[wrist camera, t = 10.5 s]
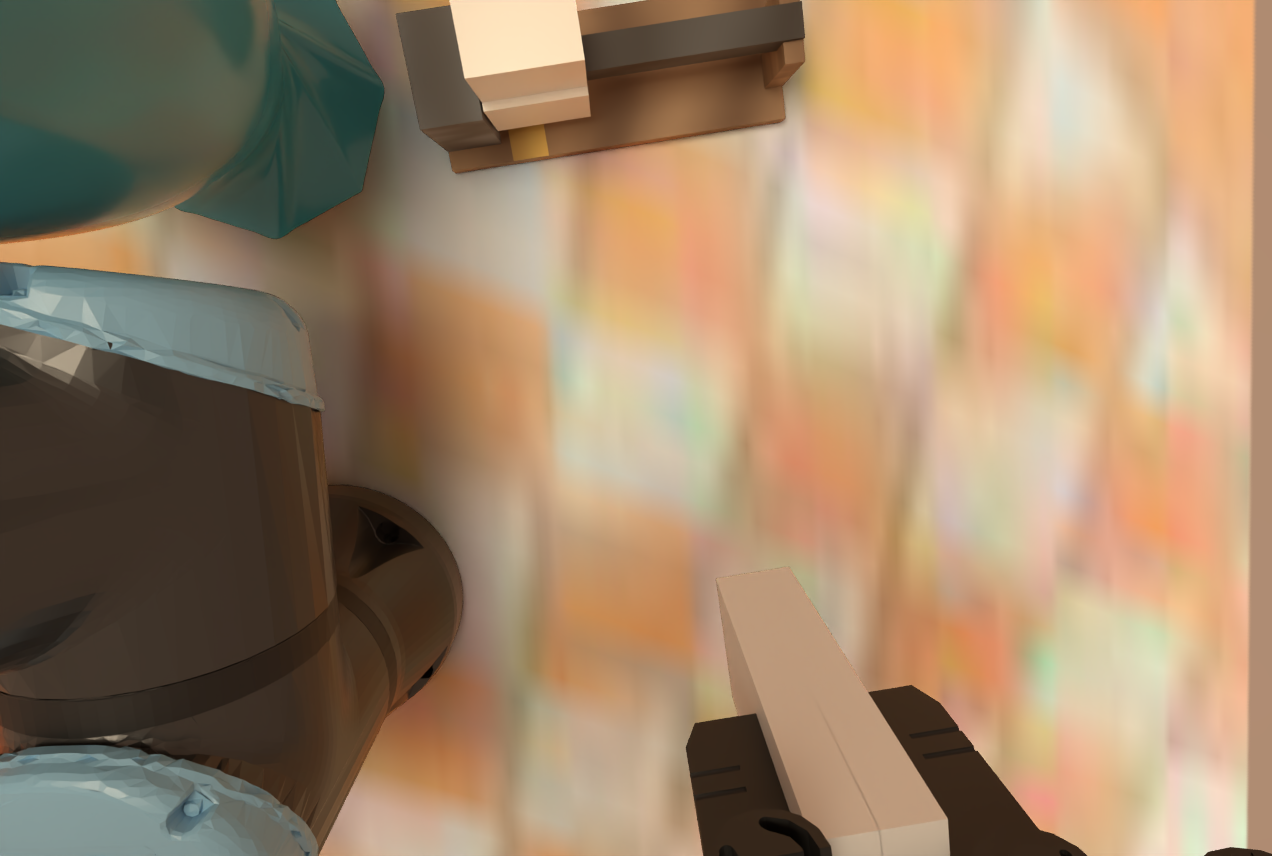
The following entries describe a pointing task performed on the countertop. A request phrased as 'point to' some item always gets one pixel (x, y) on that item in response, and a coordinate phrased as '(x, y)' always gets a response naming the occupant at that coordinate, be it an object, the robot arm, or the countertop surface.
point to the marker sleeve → (523, 59)
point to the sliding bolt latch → (620, 78)
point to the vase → (179, 113)
